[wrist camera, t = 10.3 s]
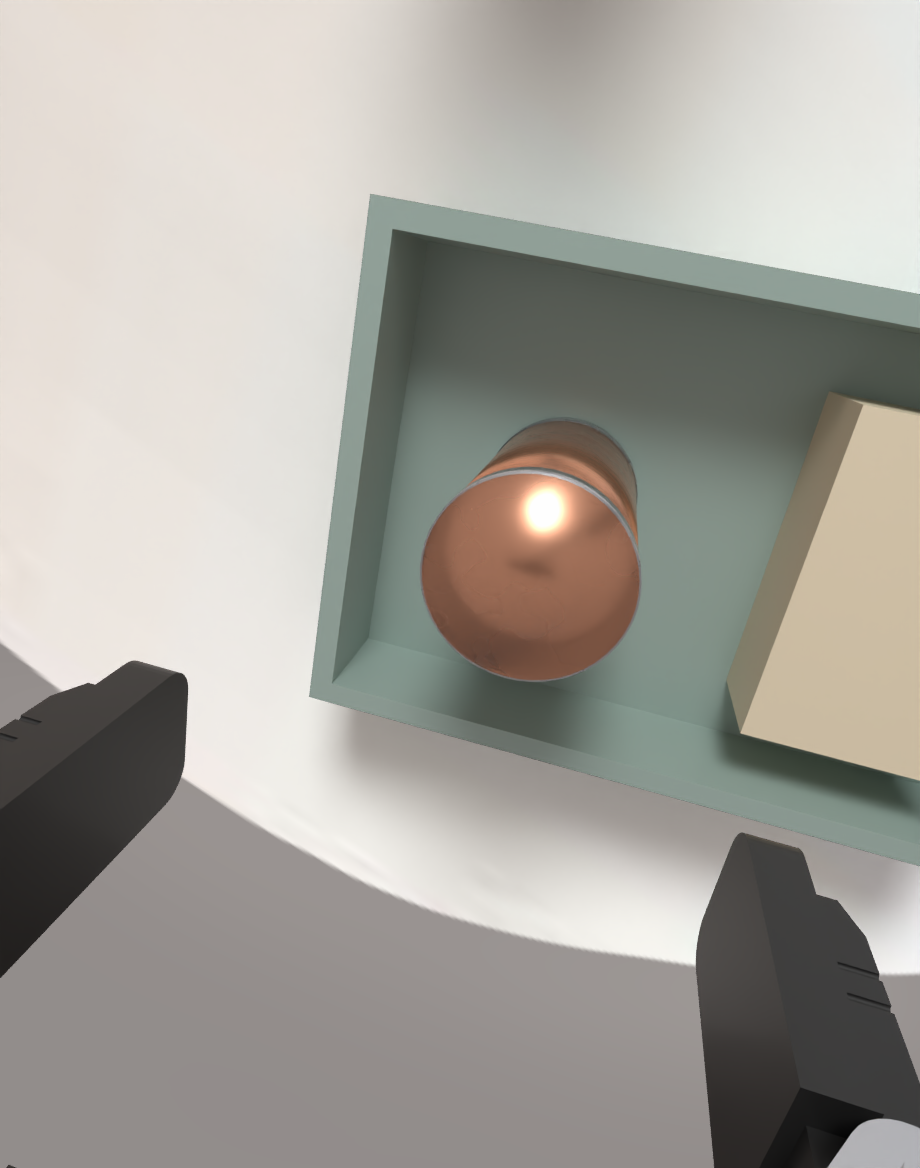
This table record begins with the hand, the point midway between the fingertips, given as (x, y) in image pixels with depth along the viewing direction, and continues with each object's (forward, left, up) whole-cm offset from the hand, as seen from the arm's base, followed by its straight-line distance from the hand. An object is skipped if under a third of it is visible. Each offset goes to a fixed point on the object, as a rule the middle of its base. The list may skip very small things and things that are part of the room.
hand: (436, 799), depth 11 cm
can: (0, 0, -19) cm, 19 cm away
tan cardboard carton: (-11, 0, -19) cm, 22 cm away
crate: (-5, 0, -20) cm, 20 cm away
